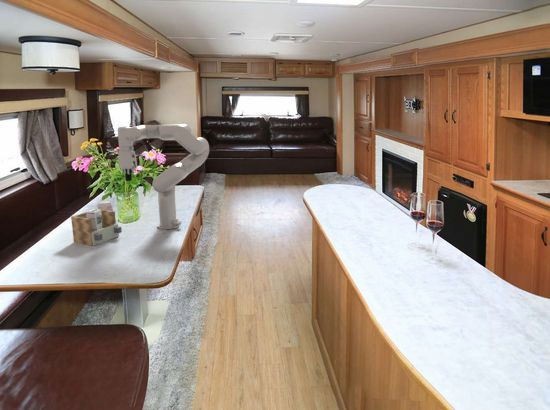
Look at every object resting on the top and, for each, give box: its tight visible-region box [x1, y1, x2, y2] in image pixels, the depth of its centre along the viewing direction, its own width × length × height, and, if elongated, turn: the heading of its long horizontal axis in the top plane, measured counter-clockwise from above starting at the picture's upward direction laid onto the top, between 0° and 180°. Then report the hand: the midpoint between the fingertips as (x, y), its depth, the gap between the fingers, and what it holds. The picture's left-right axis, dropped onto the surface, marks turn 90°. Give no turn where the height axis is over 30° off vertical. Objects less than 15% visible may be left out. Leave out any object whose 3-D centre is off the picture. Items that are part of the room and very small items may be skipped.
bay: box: [70, 209, 117, 246], centre depth 271 cm, size 13×18×14 cm
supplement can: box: [97, 200, 114, 211], centre depth 293 cm, size 8×8×15 cm
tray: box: [91, 223, 123, 246], centre depth 270 cm, size 16×18×7 cm
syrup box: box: [85, 208, 103, 232], centre depth 267 cm, size 6×6×14 cm
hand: (128, 180), depth 290 cm, fingers closed
